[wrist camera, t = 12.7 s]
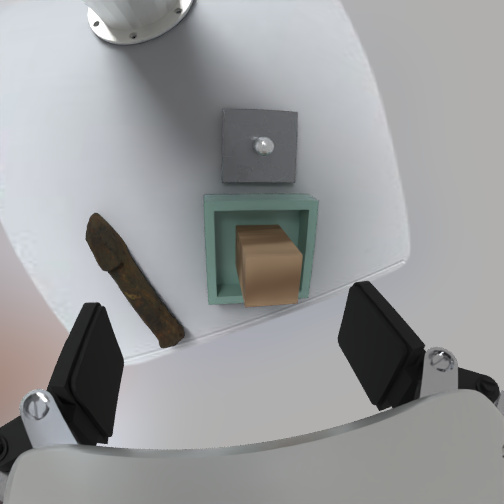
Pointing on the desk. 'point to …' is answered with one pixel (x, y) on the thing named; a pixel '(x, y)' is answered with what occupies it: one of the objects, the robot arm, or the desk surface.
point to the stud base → (243, 140)
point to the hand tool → (131, 281)
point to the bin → (254, 213)
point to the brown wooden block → (267, 265)
